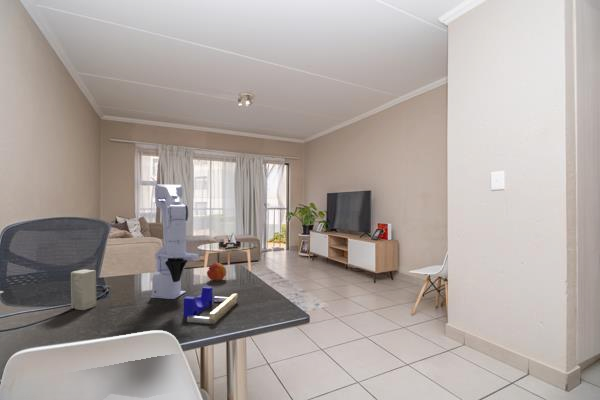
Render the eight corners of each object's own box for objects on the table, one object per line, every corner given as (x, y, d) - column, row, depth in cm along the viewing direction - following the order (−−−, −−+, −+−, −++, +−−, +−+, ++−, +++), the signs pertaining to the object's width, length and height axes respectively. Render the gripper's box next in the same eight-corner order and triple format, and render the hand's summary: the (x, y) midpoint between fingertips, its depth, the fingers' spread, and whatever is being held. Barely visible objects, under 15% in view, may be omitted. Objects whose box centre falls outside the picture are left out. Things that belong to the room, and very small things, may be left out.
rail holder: (187, 321, 82) (187, 311, 82) (215, 300, 100) (215, 292, 100) (214, 324, 81) (214, 313, 81) (237, 302, 99) (237, 293, 99)
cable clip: (200, 303, 98) (200, 286, 98) (212, 304, 97) (212, 287, 97) (179, 316, 86) (179, 297, 86) (192, 318, 85) (192, 298, 85)
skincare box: (96, 306, 94) (97, 270, 94) (82, 311, 90) (83, 273, 90) (84, 303, 96) (84, 268, 96) (69, 308, 92) (70, 271, 92)
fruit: (209, 278, 129) (209, 260, 129) (227, 277, 130) (227, 260, 130) (205, 283, 121) (205, 264, 121) (224, 282, 122) (224, 264, 122)
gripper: (149, 241, 90) (148, 283, 90) (190, 242, 88) (189, 285, 88) (163, 238, 97) (162, 277, 97) (201, 239, 95) (201, 279, 95)
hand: (176, 281), depth 93 cm, fingers closed
